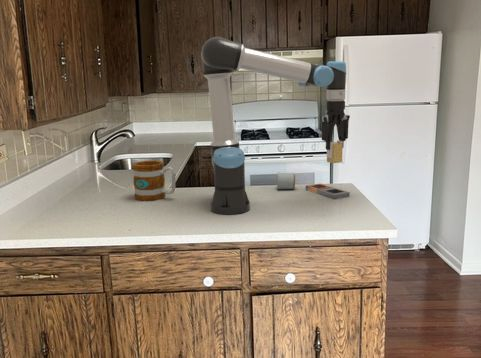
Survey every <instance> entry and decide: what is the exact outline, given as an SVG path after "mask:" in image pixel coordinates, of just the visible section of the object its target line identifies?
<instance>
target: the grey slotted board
mask: <svg viewBox="0 0 481 358" xmlns="http://www.w3.org/2000/svg"><path fill="white" fill-rule="evenodd" d="M305 190H306V191H308V190H309V192H311V193H315V194H318V195H320V196H323V197H327V198H329V197H330V198H329V199H333V200H337V199H342V198H343V199H344V198H348V197H349V198H350V196H351V195H350V193H351V192H349V191H346V190H342V189H340V188H336V187H333V186H330V185H327V184H323V183H316V184H308V185H305Z"/></svg>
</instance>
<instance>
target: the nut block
mask: <svg viewBox="0 0 481 358" xmlns="http://www.w3.org/2000/svg"><path fill="white" fill-rule="evenodd" d="M332 142H333V147H332V158H329V157H327V156H326V163H330V164H339V163H343V149H344V147H343V143H338V142H337V141H332Z"/></svg>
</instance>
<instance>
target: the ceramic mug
mask: <svg viewBox="0 0 481 358" xmlns="http://www.w3.org/2000/svg"><path fill="white" fill-rule="evenodd" d="M295 188H296V175H295V173H292V172H291V173H290V172H280V171H279V172H277V176H276V190H294V189H295Z"/></svg>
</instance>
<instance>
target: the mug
mask: <svg viewBox="0 0 481 358" xmlns="http://www.w3.org/2000/svg"><path fill="white" fill-rule="evenodd" d="M164 163H165V162H164V161H160V160H143V161H137V162H136V161H135V162H134V163H132V166H131V167H132V170H133V188H134V200H136V201H139V202H155V201H159V200H160V201H161V200H164V199H165V198H166V194H167V195H172V194H174V193H175V190H176V170H175V168H173V167H172V166H168V167H165V168H164ZM168 170H169V171H171V191H170V190H167V189H166V188H165V183H166V182H165V173H167V172H168Z"/></svg>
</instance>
